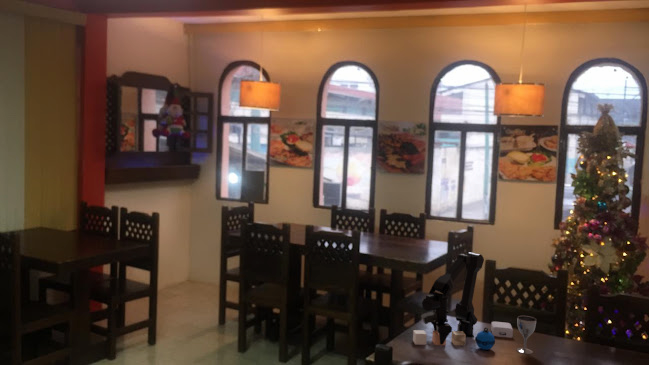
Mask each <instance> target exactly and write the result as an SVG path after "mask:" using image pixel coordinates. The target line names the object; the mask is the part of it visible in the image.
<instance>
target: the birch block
mask: <svg viewBox="0 0 649 365" xmlns="http://www.w3.org/2000/svg"><path fill="white" fill-rule="evenodd" d="M450 340H451V344H453V346H466V335H465V333H464V332H463V331H457V330H452V332H451V339H450Z"/></svg>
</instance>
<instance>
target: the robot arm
mask: <svg viewBox="0 0 649 365" xmlns="http://www.w3.org/2000/svg"><path fill="white" fill-rule="evenodd" d="M484 261H485V259H484V257H483V255H482V254H480V253H476V252H473V251H472V252H469V251H468V253H459V254H458V255H457V258H456V259H455V261H454V262H453V263H452V265H451V266H450V267H449V268H448V270H447V271H446V272H445V273H444V274H442V275H441V276H438V278H437V279H435V281H434V282H433V283H432V286H431V288H430V290H429V292H428V294H427V295H426V296H425V298H424V299H423V300H422V301H421V305H422V306H421V307H422V308H423V309H424V311H426V313H422V314H421V318H422V322H423V323H424V324H425V325H427V324H432V327H433V331H437V332H438V333H439V336H440V344H443V343H444V341H445V340H446V341H447V338H448V336H449V335H450V334H452V331H453V327H452V325H450V323H449V320H448V314H449V310H448V306H449V304H448V302H449V298H451V297H452V295H451V294H450V293H451V291H452V289H453V288H454V281H455V280H456V278H458V276H459V275H460V274H461V272H463V269H464V268H465V269H466V274H465V279H464V283H463V289H462V295H461V299H460V301H459V302H458V303H456V304H455V309H454V315H455V320H456V321H457V322H458V324H457V328H456V329H457V330H456V331H463V332H464V333H465V335H466V337H467V338H473V337H475V335H474V326H475V325H476V324H477V323H478V318H477V316H476V315H475V307H474V304H473V299H474V298H473V297H474V292H475V288H476V282H477V276H478V273H479V271H481V270H482V268H483V264H484Z"/></svg>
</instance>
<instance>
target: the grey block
mask: <svg viewBox="0 0 649 365" xmlns="http://www.w3.org/2000/svg"><path fill="white" fill-rule="evenodd" d="M412 332H413V333H412V341H413V343H414V345H419V346H420V345H427V337H428V335H427V332H426V331H425V330H421V329H415V330H414V329H413V331H412Z"/></svg>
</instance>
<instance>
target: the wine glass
mask: <svg viewBox="0 0 649 365" xmlns="http://www.w3.org/2000/svg"><path fill="white" fill-rule="evenodd" d="M516 320H517V329H518V331H519V333H520V334H521V335H522V338H523V347H518V348H516V349H515V350H516V352H518V353H520V354H523V355H524V354H526V355H530V354H533V350H531V349H529V348H527V341H528V338H529V337H530V336H531V335H532V334H533V333H534V332H535V330H536V325H537V318H535V317H534V316H530V315H519V316H517V319H516Z"/></svg>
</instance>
